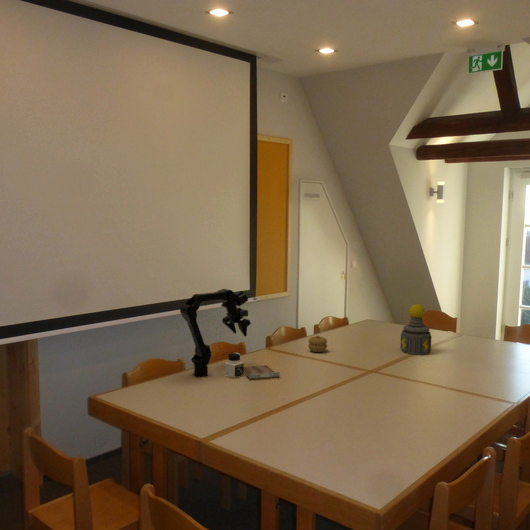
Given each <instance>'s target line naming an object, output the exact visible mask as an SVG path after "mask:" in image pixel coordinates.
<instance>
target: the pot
mask: <svg viewBox="0 0 530 530" xmlns="http://www.w3.org/2000/svg"><path fill="white" fill-rule="evenodd" d="M327 343H328V340H327V338H326V337H324V336H320V335H316V336H311V337H310V338H309V339H308V344H307V345H308V346H307V347H308V349H309V350H310V351H311V352H312V353H313V352H314V353H323V352H325V351H326V350H327V348H328V344H327Z"/></svg>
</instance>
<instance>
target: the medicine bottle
mask: <svg viewBox="0 0 530 530" xmlns="http://www.w3.org/2000/svg"><path fill="white" fill-rule="evenodd" d="M244 367H245V366H244V362H243V361H241V354H240V353H238V352H229V353H228V361H226V362H224V376H225V375H227V376H226V377H228V376H230V377H229V378H232V377H234V378H233V379H237V378H240V377H243V376H245V375H244ZM242 375H243V376H242ZM239 376H240V377H239ZM236 377H237V378H236Z"/></svg>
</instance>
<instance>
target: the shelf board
mask: <svg viewBox="0 0 530 530" xmlns="http://www.w3.org/2000/svg"><path fill="white" fill-rule="evenodd" d="M270 372H275V370H273V369H271V367H269V366H268V365H267V364H266V365H256V366H255V365H254V366H244V374H245V375H246V376H245V375H244V376H245V377H246V378H247V379H248V380H249V381H250V380H254V381H261V380H260V379H265V380H272V379H271V378H277V379H281V375H280V376H275V377H264V378H252V379H250V378H249V374H258V373H270Z"/></svg>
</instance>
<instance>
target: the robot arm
mask: <svg viewBox="0 0 530 530" xmlns="http://www.w3.org/2000/svg"><path fill="white" fill-rule="evenodd" d="M216 300H217V301H218V300H220V301H222V303H221V307H224V308H225V309H226V312H227V313H226V316H224V317H223V318H222V319H221V322H222V323H223V324H224V326H226V327H227V328H228V329H229V330H230V331H231V332H232V333H233V334H237V329H236V326H235V324H237V327H238V330H239V331H240V332H241V334H242V335H243V337H245V338H246V337H247V336H248V332H247V331H248V327H249V325H251V324H252V323H251V320H250V319H248V318H245V317H249V310H247V309H242V308H241V306H242V305H244V304H246V303H247V302H248V301H249V297H248V296H247V295H246V293H244V291H242V290H240V291H239V292H238V293H236V294H235V293H234V291H233V290H231V289H227V288H222V289H219V290H217V291H214V292H206V293H205V292H204V293H195V294H192V296H191V297H190V298H189V299H188V300H186V301H185V303H184V304H183V305H181V307H180V309H179V312H180V315H181V316H182V318H183V319H184V320H185V322H186V323H187V325H188V328H189V331H190V334H191V337H192V340H193V342H194V346H195V348H194V355H193V356H192V358H191V362H192V364H193V373H192V374H193V375H194V377H196V378H198V377H199V378H200V377H208V374H209V373H208V371H209V370H208V369H209V367H208V365H209V363H210V361H211V357H212V350H211V347H210V345H208V344H205V341H204V339H203V336H202V333H201V330H200V327H199V324H198V321H197V318H198V314H197V311H199V309H200V306H201V303H202V302H208V301H209V302H210V301H216Z"/></svg>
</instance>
